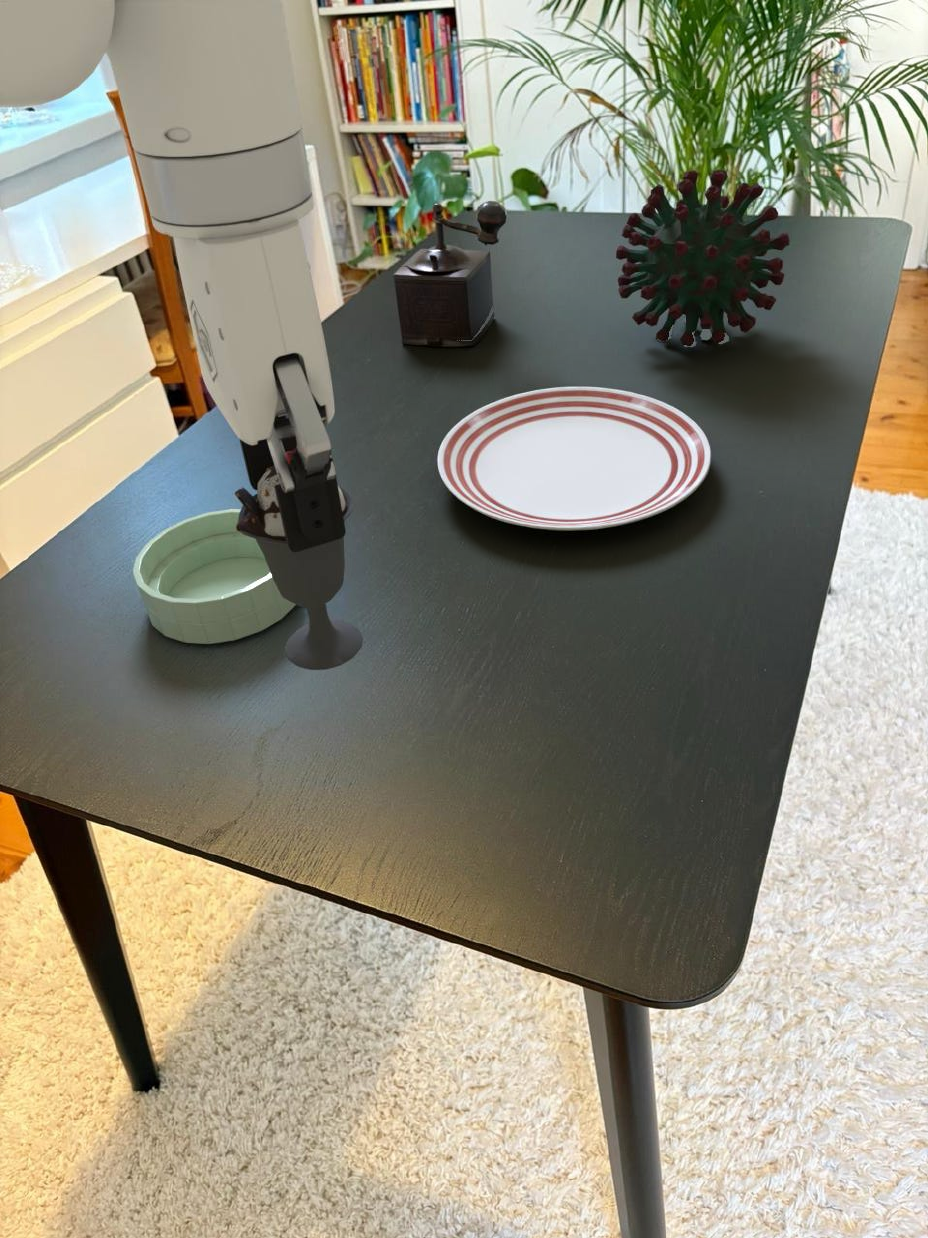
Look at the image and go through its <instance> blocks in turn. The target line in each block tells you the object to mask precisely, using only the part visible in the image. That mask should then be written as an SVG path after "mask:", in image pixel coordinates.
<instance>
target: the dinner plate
mask: <svg viewBox="0 0 928 1238" xmlns="http://www.w3.org/2000/svg"><path fill="white" fill-rule="evenodd" d="M711 462H712V450H711V445H710V442H709V440H708V438H707V436H706V434H705V432H704V431H703V430H702V428H701V427H700V426H699V425H698V424H697V423H696V422H695V421H694V420H693V419H692V418H690V416H688V415H687V414H685V413H684V412H683V411H681V410H679V409H678V408H676V407H674V406H672V405H671V404H668V403H666V402H664V401H662V400H658V399H656V398H653V397H651V396H647V395H643V394H639V393H636V392H632V391H628V390H621V389H616V388H607V387H597V386H559V387H558V386H557V387H549V388H542V389H541V388H540V389H535V390H531V391H526V392H522V393H517V394H514V395H511V396H507V397H504V398H501V399H497V400H496V401H494V402H491V403H489V404H487V405H484V406H482V407H480V408H478V409H476V410H474V411H473V412H471V413H469V414H468V415H467V416H465V417H464V418H462V419H461V420H460V421H458V422H457V423H456V424H455V425H454V426H453V427H452V428H451V429H450V430H449V431H448V432H447V434H446V435H445V437H444V438H443V440H442V442H441V444H440V446H439V449H438V453H437V469H438V472H439V476H440V477H441V480H442V482H443V484H444V485H445V487H446V488H447V489H448V491H449V492H450V493H452V495H454V496H455V497H456V499H458V500H459V501H460V502H462V503H464V504H465V505H467V506H468V507H469V508H471V509H473V510H474V511H476V512H479V513H481V514H482V515H483V516H484V515H485V516H487V517H489V518H491V519H495V520H497V521H500V522H504V523H507V524H510V525H511V524H512V525H516V526H520V527H526V528H531V529H540V530H547V531H589V530H599V529H608V528H613V527H618V526H624V525H628V524H633V523H635V522H639V521H643V520H645V519H648V518H652V517H653V516H656V515H659V514H661V513H663V512H665V511H667V510H669V509H671V508H674V507H675V506H676V505H678V504H680V503H682V502H684V500H686V499H687V498H688V497H689V496H691V495H693V493H695V491H696V490H697V489H698V488H699V487H700V486H701V485H702V483H703V482H704V481H705V479H706V477H707V475H708V473H709V471H710V469H711V468H710V467H711Z"/></svg>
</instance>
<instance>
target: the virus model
mask: <svg viewBox="0 0 928 1238" xmlns="http://www.w3.org/2000/svg"><path fill="white" fill-rule="evenodd" d="M698 177H699V172H698V171H697V170H696V169H692V170H688V171H684V173H683V175H682V179H683V180H681V181H680V182H679V183H678V184H677V187H676V188H677V191H678V192H679V193H680V194H681V198H680V199H679V200H677V201H676V204H675V208H674V207H673V206H672V205H671V203H670V202H669V200H668V198H667V196H666V194H665V187H664V185H662V184H660V183H658V184H657V185H655V186H654V187H653V188H652V189H650V194H649V196H648V197H647V199H646V200H647V201H646V202H647V203H646V204H645V205H644V206H642V208H641V212H640V213H641V215H642V216H643V218H646V219H649V220H652V222H654V224H655V225H654V224H652V223H648V222H647V221H645V220H644V219H642V218H641V217H640V215H639V214H638V213H636V212H634V213H633V212H632V213H630V215H629V217H628V219H627V221H626V224H625V225H624V226H623V228H622V231H621V237H623V238H624V239H628V242H627V243H628V244H629V245H631V246H633V247H637V246H643V247H645V249H641V250H639V249H629V248H627V247H626V246H624V245H619V246H617V249H616V250H615V251H616V252H615V259H616V260H620V261H622V260H625V259H626V262H624V263H623V264H622V267H621V272H622V274H621V275H619V276H618V277H617V284H618V293H619V296H620V298H621V299H628V298H629V297H630V296H631V295H632V294H633V293H636V292H637V291H639V290H640V297H641V298H642V299H644V300H646V301H649V303H647V304H646V305H645V306H644V307H643V308H641V310H639V311H636V312H634V313H633V315H632V316H631V319H632V320H633V321H634V322H635V324H637V326H640V325H642V324H644V323H645V324H646V325H648V326H650V327H654V326H657V325H658V322H659V320H660V317H661V316H662V315H663V314H664V313H665V312H666V311H667V310H668V312H667V316H666V320H665V322H664V324H663V326H662V327H661V329H659V330H658V331H657V332H656V333H655V339H656V340H657V339H659V340H661V341H666V340H668V337H669V331H670V329H671V327H672V325H674V324H675V325H676V322H677V320H678V319H680V318H681V317H682V316H685V317H686V325H685V328H684V329H685V330H684V332H683V334H682V336H681V337H680V339H679V341H680V343H681V344H682V346H683V345H687V346H691V345H692V344H693V342H694V338H693V335H692V332H694V331H695V330H696V331H697V329H698V324H699V325H700V328H701V329H709V328H710V329H711V331H712V338H711V341H712V342H714V343H716V344H717V343H719V342H721V341H723V340H724V337H725V334H724V333H726V332H727V331H726V329H725V322H724V318H725V314H726V319H727V318H728V323H729V324H728V325H729V326H730V327H732V328H735V327H739V331H741V332H743V333H748V332H749V331H750V330H751V329H752V328H754V327H755V325H756V323H757V318H756V317H755V316H753V315H751V314H749V313H748V312H747V311H746V309H745V308H744V306H743V303H742V302H746V301H747V300H751V301H752V302H753V303H754V305H755V307H756V308H758V309H761V308H762V309H764V310H767V311H771V310H772V308H773V307H774V306H775V303H776V302H777V298H776V297H775V296H774V295H768V294H767V293H763V292H760V291H759V290H758V289H760V290H761V289H763V288H766V287H767V286H768V284H769V281H770V282H771V283H772V284H774V285H775V286H782V284H783V283H784V278H785V274H784V272H782V270H783V267H784V260H783V259H782V258H780V257H778V256H777V257H774V258H772V259H769V260H768V259H762V258H760V257H764V256H765V255H766V254H768V251H770V250H775V251H782V252H783V251H784V249H785V248H786V247H788V246H790V237H789V233H788V232H782V233H780V234H779V235H777V236H776V237H772V238H771V231H770V230H767V229H765V228H762V229H761V230H760V231H759V232H758V233H757V234H755V235H752V234H753V233H754V232H756V231H757V230H758V229H759V228H760V227H762V226H763V225H764V224H765V223H766V222H771V221H775V220H777V218H778V217H779V211H778V210H777V207H774V206H773V205H772V204H771V205H770V204H768V205H767V206H764V208H763V209H762V211H761V212H760V213H759V215H757V216H755V217H753V218H752V219H751V220H746V221H745V220H744V215H745V213H746V211H747V209H748V208H749V207H750V206H751V204H752V203H753V201H754V200H756V199H758V198H759V197H760V196H762V194H764V193H763V192H764V191H765V188H764V187H763V186H761V185H760V184H759V183H758V182H755V183H753V184H751V185H749V183H748V182H747V183H746V182H741V183H740V184H738V186H737V188H736V191H735V193H734V197H733V201H732V202H731V203H730V197H729V196H728V195H722V190H723V186H724V184H725V183H726V182H727V179H728V178H729V174H728V172H727V170H724V169H716V170H714V171H712V172H711V174H710V175H709V180H710V186H708V188H706V190H705V193H704V197H705V199H706V203H705V204H703V203H700V200H699V195H698V189H697V188H698V187H697V181H698ZM635 228H636V229H639V230H640V231H642V232H644V233H642V232H640V231H637V230H636V229H635ZM756 257H759V258H756ZM767 270H768V271H767ZM752 284H753V285H755V286H756V287H757V288H758V289H756V288H755V287H754V286H753V285H752ZM699 321H700V322H699ZM675 325H674V326H675ZM659 340H658V341H659ZM661 341H660V342H661ZM668 341H669V340H668ZM666 342H667V341H666Z"/></svg>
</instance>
